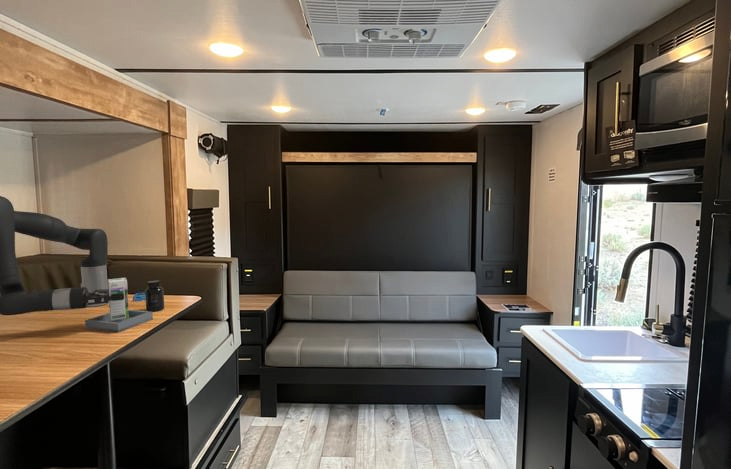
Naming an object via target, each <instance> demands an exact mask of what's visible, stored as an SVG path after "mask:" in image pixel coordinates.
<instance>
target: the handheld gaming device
mask: <svg viewBox="0 0 731 469" xmlns="http://www.w3.org/2000/svg"><path fill="white" fill-rule="evenodd" d="M142 300H144V301H146V300H145V292H137V293H135V294H134V298H133V302H134V301H135V302H142Z"/></svg>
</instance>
